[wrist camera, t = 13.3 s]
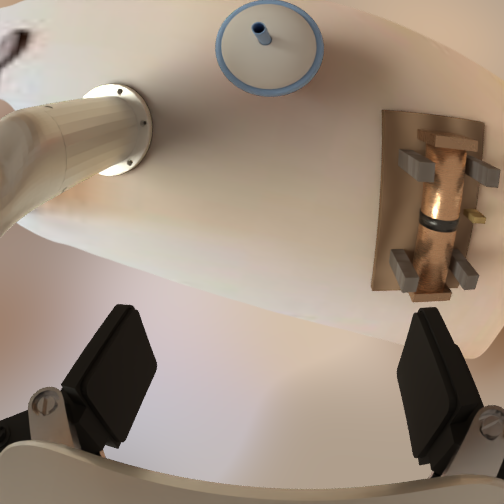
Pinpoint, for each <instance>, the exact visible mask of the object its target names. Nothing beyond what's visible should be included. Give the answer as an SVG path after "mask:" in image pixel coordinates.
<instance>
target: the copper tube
mask: <svg viewBox="0 0 504 504" xmlns="http://www.w3.org/2000/svg"><path fill="white" fill-rule="evenodd" d="M417 139H419V140H421V141H423V142H425V143H426V151H425V157H426V158H428V159H429V160H431V161H433V162H434V163H435V176H434V183H433V182H423V192H422V201H421V208H420V212H419V220H418V221H419V226H418V233H417V240H416V246H415V252H414V258H413V264H412V265H413V267H414V269H415V270H416V272H417V274H418V276H419V281H418V286H417V290H416V292H408V293H409V295H410V297H411V300H412V302H429V301H447V300H450V298H451V294H452V292H451V290H450V289H449V287H448V285H447V284H446V282H445V281H446V277H447V273H448V269H449V265H450V261H451V256H452V252H453V247H454V242H455V237H456V231H457V229H458V225H459V219H460V216H459V214H460V208H461V201H462V194H463V186H464V177H465V167H466V156H467V151H475V152H477V151H478V141H477V140H474V139H471V138H468V137H466V136H463V135H460V134H457V133H450V132H442V131H433V130H423V129H417Z"/></svg>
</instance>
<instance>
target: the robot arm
mask: <svg viewBox="0 0 504 504" xmlns="http://www.w3.org/2000/svg"><path fill="white" fill-rule="evenodd" d="M122 90H123V93H122ZM145 121H146V124H145ZM151 138H152V119H151V115H150V112H149V109H148V107H147V105H146V103H145V101H144V100H143V99H142V97H141V96H140V95H139V94H138V93H137V92H136V91H135V90H133V89H131V88H129V87H128V86H125V85H121V84H105V85H101V86H98V87H96V88H94V89H92V90H91V91H90V92H88V93H87V94H86V95H85V96H84V97H83V98H82V99H75V100H68V101H62V102H56V103H50V104H45V105H40V106H34V107H29V108H24V109H20V110H17V111H14V112H12V113H10V114H8V115H6V116H4V117H3V118H1V119H0V238H1V237H2V236H3V235H4V234H5V233H6V231H7V230H8V229H9V228H10V227H12V225H14V224H15V223H16V222H17V221H19V220H20V219H21V218H23V217H24V216H25V215H27V214H28V213H29V212H31V211H32V210H34V209H36V208H37V207H39V206H40V205H42V204H44V203H45V202H47V201H49V200H51V199H52V198H54V197H56V196H58V195H59V194H61V193H63V192H65V191H66V190H68V189H70V188H72V187H74V186H75V185H77V184H79V183H81V182H83V181H85V180H87V179H89V178H90V177H92V176H94V175H96V174H100V175H105V176H116V175H120V174H123V173H125V172H127V171H129V170H131V169H132V168H134V167H135V166H136V165H137V164H138V163H140V162H141V160H142V159H143V157H144V156H145V155H146V152H147V150H148V148H149V146H150V142H151ZM132 161H133V162H132ZM156 370H157V362H156V359H155V357H154V355H153V351H152V349H151V346H150V343H149V340H148V338H147V335H146V332H145V329H144V326H143V323H142V320H141V317H140V315H139V312H138V310H135V308H134V307H133V306H132V305H123V304H117V305H116V306H115V307H114V308H113V310H112V311H111V313H110V314H109V315H108V317H107V318H106V319H105V321H104V323H103V324H102V325H101V326H100V328H99V329H98V331H97V332H96V333H95V335H94V336H93V338H92V339H91V341H90V342H89V343H88V345H87V346H86V348H85V349H84V351H83V352H82V354H81V355H80V357H79V358H78V360H77V361H76V363H75V364H74V366H73V367H72V369H71V370H70V372H69V373H68V375H67V376H66V378H65V379H64V381H63V382H62V384H61V385H62V387H63V388H62V390H61V391H59V389H57V388H54V387H46V388H42V389H40V390H39V391H37V392H36V393H35V394H33V396H32V397H31V399H30V401H29V403H28V410H26V411H24V412H21V413H19V414H16V415H14V416H12V417H9V418H6V419H3V420H1V421H0V504H504V409H503V408H502V407H499V406H496V405H488V406H485V407H484V406H483V403H482V400H481V398H480V395H479V393H478V390H477V388H476V385H475V383H474V380H473V378H472V375H471V373H470V371H469V368H468V366H467V364H466V361H465V359H464V357H463V355H462V353H461V350H460V348H459V347H458V345H456V344H454V342H453V340H452V337H451V335H450V333H449V331H448V329H447V327H446V325H445V323H444V321H443V319H442V317H441V315H440V313H439V311H438V309H437V308H436V307H428V308H420V309H419V310H418V313H414V314H413V317H412V321H411V325H410V328H409V332H408V335H407V339H406V342H405V346H404V349H403V352H402V355H401V358H400V362H399V365H398V368H397V379H398V383H399V388H400V392H401V396H402V401H403V405H404V410H405V415H406V419H407V425H408V430H409V435H410V441H411V446H412V452H413V456H414V458H418V460H419V465H424V464H429V463H430V465H431V470H432V473H431V475H430V476H429V478H428V479H421V480H416V481H409V482H402V483H395V484H385V485H376V486H365V487H352V488H335V489H281V488H262V487H250V486H239V485H230V484H222V483H215V482H207V481H201V480H195V479H189V478H184V477H179V476H174V475H169V474H164V473H160V472H155V471H151V470H147V469H143V468H139V467H135V466H132V465H128V464H124V463H120V462H117V461H114V460H110V459H107V458H106V457H105V454H104V451H103V448H104V446H105V445H107V446H111V447H114V448H117V449H118V448H119V446H120V444H121V442H124V441H125V440H126V438H127V436H128V433H129V431H130V429H131V427H132V424H133V422H134V420H135V417H136V415H137V413H138V411H139V408H140V406H141V404H142V401H143V399H144V397H145V395H146V392H147V390H148V388H149V386H150V384H151V381H152V379H153V377H154V374H155V372H156Z"/></svg>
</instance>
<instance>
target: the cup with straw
mask: <svg viewBox="0 0 504 504" xmlns="http://www.w3.org/2000/svg"><path fill="white" fill-rule="evenodd" d="M215 51H216V58H217V61H218V64H219V66H220V68H221V70H222V72H223V73H224V75H225V76H226V77H227V78H228V79H229V81H230V82H232V83H233V84H234V85H235V86H237V87H238V88H240V89H242V90H243V91H246V92H248V93H251V94H254V95H258V96H265V97H275V96H282V95H286V94H290V93H292V92H295V91H297V90H299V89H300V88H302V87H303V86H305V85H306V84H307V83H308V82H309V81H311V79H312V78H313V77H314V76H315V75H316V73H317V71H318V70H319V68H320V65H321V63H322V60H323V55H324V43H323V38H322V35H321V32H320V30H319V28H318V26H317V24H316V23H315V21H314V20H313V19H312V18H311V17H310V16H309V15H308V14H307V13H306V12H305V11H303V10H302V9H301V8H299V7H297V6H295V5H293V4H291V3H288V2H284V1H280V0H258V1H254V2H251V3H248V4H245V5H243V6H241V7H239V8H238V9H236V10H235V11H234V12H232V13H231V14H230V15H229V16H228V17H227V18H226V20H225V21H224V22H223V24H222V25H221V27H220V29H219V32H218V34H217V38H216V45H215Z"/></svg>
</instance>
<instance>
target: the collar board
mask: <svg viewBox="0 0 504 504" xmlns="http://www.w3.org/2000/svg"><path fill="white" fill-rule="evenodd" d="M417 129H423V130H433V131H442V132H450V133H457V134H460V135H463V136H466V137H468V138H471V139H474V140H477V141H478V151H477V152H475V151H467V156H466V167H465V177H464V186H463V194H462V201H461V208H460V214H459V216H460V219H459V225H458V229H457V231H456V237H455V242H454V247H453V252H452V256H451V261H450V265H449V269H448V273H447V277H446V281H445V282H446V284H447V285H448V287H449V288H458V286H459V283H460V285H461V286H462V288H463V289H464V290H470V289H475V288H476V284H477V281H478V278H479V275H478V273H477V272H476V271H475V269H474V268H473V267H472V266H471V264H470V263H469V262H468V261H467V259H466V255H467V251H468V246H469V242H470V237H471V232H472V227H473V223H483V224H485V221H486V217H485V216H483V215H482V214H481V213H480V212H479V211H477V210H476V204H477V197H478V191H479V183H481V184H483V185H484V186H486V187H496V188H498V184H499V177H500V170H499V169H497V168H495V167H493V166H491V165H489V164H487V163H485V162H483V161H482V154H483V141H484V123H482V122H478V121H472V120H466V119H460V118H454V117H447V116H439V115H431V114H423V113H413V112H403V111H390V110H382V165H381V187H380V203H379V217H378V229H377V239H376V249H375V258H374V266H373V274H372V281H371V288H372V291H389V290H401V291H402V293H405V292H416V290H417V286H418V281H419V276H418V274H417V272H416V270H415V269H414V267H413V265H412V264H413V258H414V252H415V246H416V240H417V233H418V226H419V221H418V220H419V212H420V208H421V201H422V192H423V182H433V183H434V176H435V163H434V162H433V161H431V160H429V159H428V158H426V157H425V151H426V143H425V142H423V141H421V140H419V139H417Z"/></svg>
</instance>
